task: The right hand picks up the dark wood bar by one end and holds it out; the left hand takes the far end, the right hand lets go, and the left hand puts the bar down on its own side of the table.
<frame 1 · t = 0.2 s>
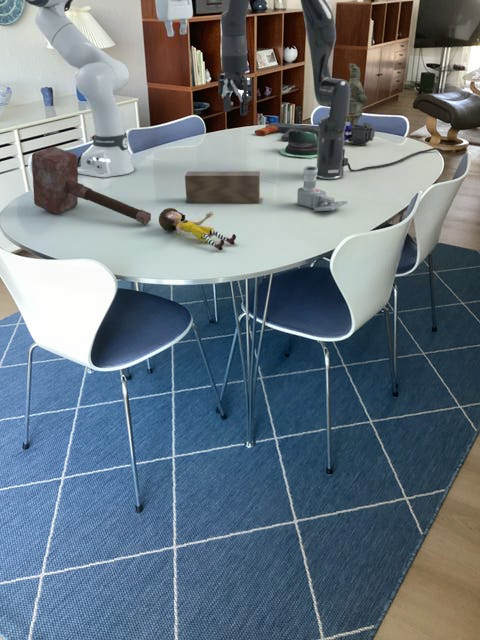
left hand: (177, 35, 183), 47 cm above the table, tool pointing down, fingers open, 8 cm apart
right hand: (235, 113, 166), 28 cm above the table, tool pointing down, fingers open, 8 cm apart
statue: (353, 131, 270), on the table
sledgehammer: (95, 216, 172), on the table
bar: (223, 200, 183), on the table
green brimmed hat: (303, 152, 236), on the table
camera: (319, 208, 174), on the table
toy: (355, 144, 247), on the table
figurine: (195, 238, 155), on the table
submachine gun: (289, 135, 264), on the table
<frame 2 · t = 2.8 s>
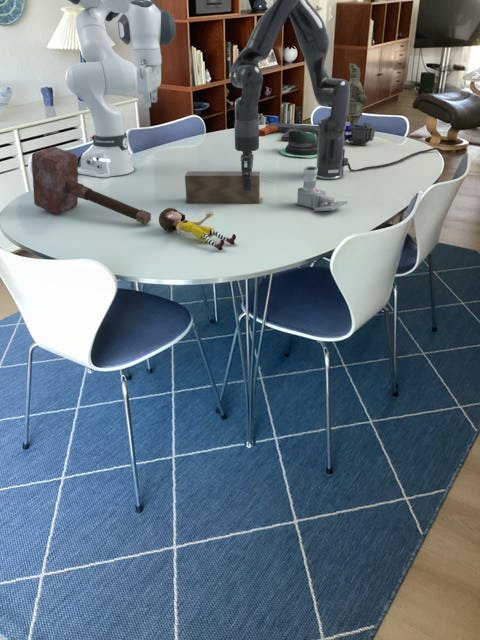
left hand: (151, 104, 184), 28 cm above the table, tool pointing down, fingers open, 8 cm apart
right hand: (247, 187, 180), 4 cm above the table, tool pointing down, fingers closed on bar, 5 cm apart
bar: (223, 200, 183), on the table, touching right hand
everything else where it was.
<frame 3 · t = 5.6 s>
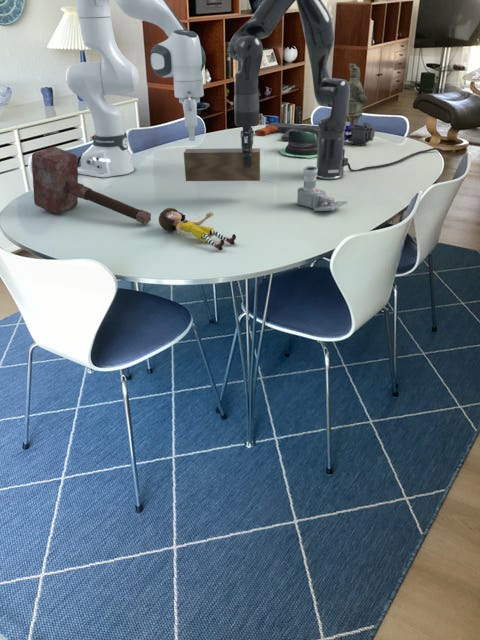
left hand: (191, 137, 174), 20 cm above the table, tool pointing down, fingers open, 8 cm apart
right hand: (247, 164, 176), 12 cm above the table, tool pointing down, fingers closed on bar, 5 cm apart
bar: (223, 178, 179), point 7 cm above the table, touching right hand
everything else where it was.
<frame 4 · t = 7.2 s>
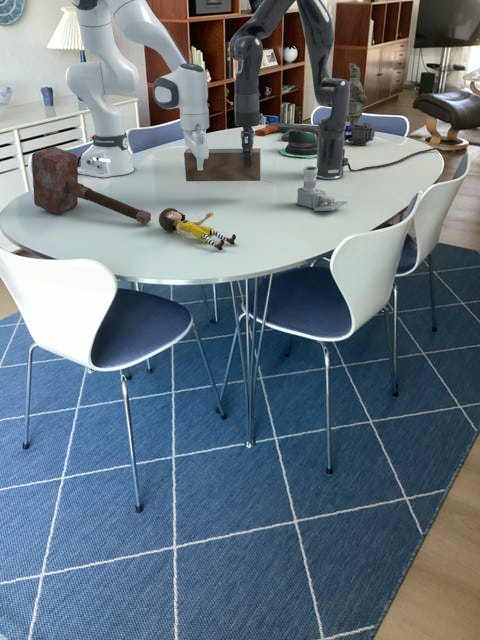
left hand: (197, 166, 178), 11 cm above the table, tool pointing down, fingers closed on bar, 6 cm apart
right hand: (248, 164, 176), 12 cm above the table, tool pointing down, fingers closed on bar, 5 cm apart
bar: (223, 178, 179), point 7 cm above the table, touching left hand, right hand
everything else where it was.
when the right hand's fingers open (12 cm above the table, at t = 8.3 s): bar stays where it is, held by the left hand.
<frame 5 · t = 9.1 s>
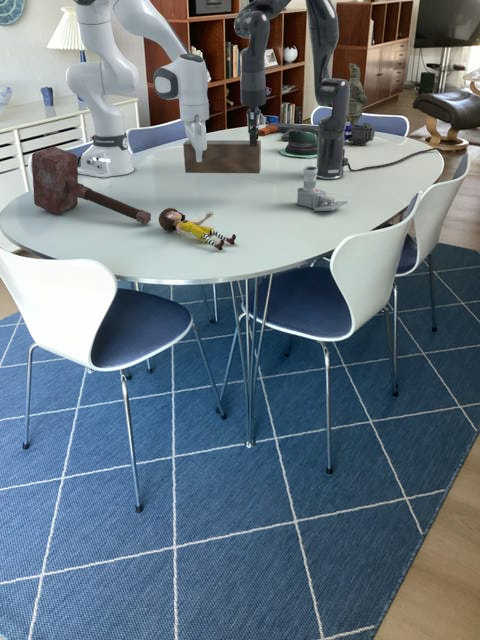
left hand: (197, 158, 177), 14 cm above the table, tool pointing down, fingers closed on bar, 6 cm apart
right hand: (254, 143, 173), 18 cm above the table, tool pointing down, fingers open, 8 cm apart
bar: (223, 170, 178), point 10 cm above the table, touching left hand
everything else where it was.
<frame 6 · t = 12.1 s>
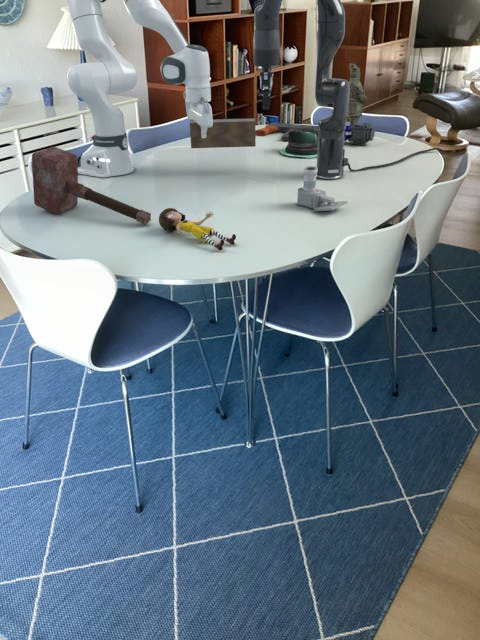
left hand: (200, 135, 204), 14 cm above the table, tool pointing down, fingers closed on bar, 6 cm apart
right hand: (266, 107, 167), 29 cm above the table, tool pointing down, fingers open, 8 cm apart
bar: (223, 145, 207), point 10 cm above the table, touching left hand
everything else where it was.
when the left hand's fingers open (5 cm above the table, at t = 16.9 s): bar stays where it is, on the table.
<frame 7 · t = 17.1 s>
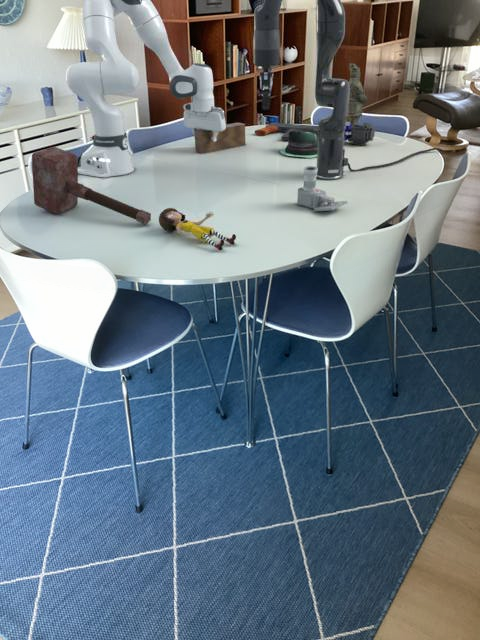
left hand: (205, 139, 239), 5 cm above the table, tool pointing down, fingers open, 8 cm apart
right hand: (266, 107, 167), 29 cm above the table, tool pointing down, fingers open, 8 cm apart
bar: (220, 148, 245), on the table
everything else where it was.
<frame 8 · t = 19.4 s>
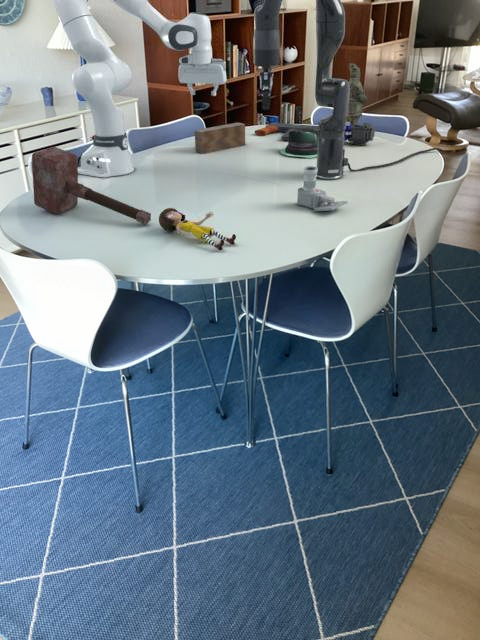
left hand: (203, 95, 229), 23 cm above the table, tool pointing down, fingers open, 8 cm apart
right hand: (266, 107, 167), 29 cm above the table, tool pointing down, fingers open, 8 cm apart
nothing on the table moved.
at the end: bar inside the target area (8.0 cm from its centre), on the table; the left hand is holding nothing; the right hand is holding nothing; bar at rest at the end (0.0 cm/s) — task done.
